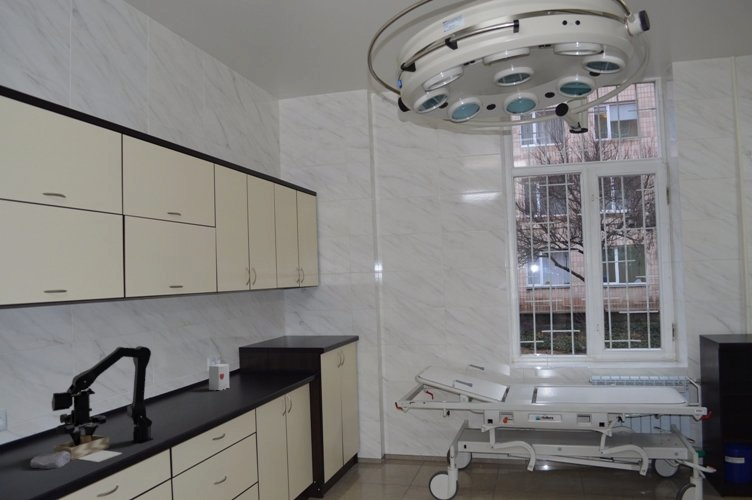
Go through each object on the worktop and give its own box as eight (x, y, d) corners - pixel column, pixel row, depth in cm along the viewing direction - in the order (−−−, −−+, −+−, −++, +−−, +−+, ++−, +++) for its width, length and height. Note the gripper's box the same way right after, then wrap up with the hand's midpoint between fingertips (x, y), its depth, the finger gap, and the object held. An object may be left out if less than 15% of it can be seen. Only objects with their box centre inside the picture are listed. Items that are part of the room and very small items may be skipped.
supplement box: (218, 391, 348) (218, 366, 349) (208, 390, 353) (208, 365, 354) (230, 388, 356) (229, 364, 357) (220, 387, 361) (219, 363, 362)
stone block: (59, 473, 210) (73, 459, 219) (56, 461, 209) (71, 447, 219) (26, 475, 210) (42, 461, 220) (24, 463, 209) (40, 450, 219)
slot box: (92, 445, 238) (92, 434, 238) (109, 447, 234) (109, 436, 234) (54, 458, 223) (53, 446, 223) (71, 460, 218) (71, 448, 218)
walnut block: (82, 444, 231) (82, 434, 231) (90, 445, 229) (90, 435, 229) (73, 447, 227) (73, 437, 228) (82, 448, 225) (81, 438, 226)
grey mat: (102, 451, 230) (102, 450, 230) (122, 453, 225) (122, 452, 225) (77, 459, 220) (77, 458, 220) (97, 462, 215) (97, 461, 215)
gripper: (88, 400, 241) (88, 438, 240) (46, 410, 224) (46, 451, 223) (107, 402, 236) (107, 440, 235) (65, 412, 219) (66, 453, 218)
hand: (82, 446), depth 228 cm, fingers closed on walnut block, 4 cm apart
